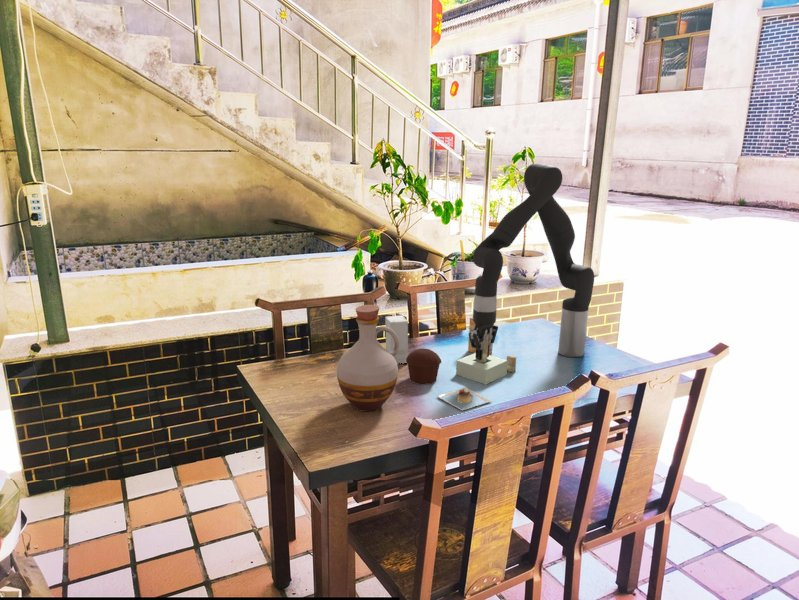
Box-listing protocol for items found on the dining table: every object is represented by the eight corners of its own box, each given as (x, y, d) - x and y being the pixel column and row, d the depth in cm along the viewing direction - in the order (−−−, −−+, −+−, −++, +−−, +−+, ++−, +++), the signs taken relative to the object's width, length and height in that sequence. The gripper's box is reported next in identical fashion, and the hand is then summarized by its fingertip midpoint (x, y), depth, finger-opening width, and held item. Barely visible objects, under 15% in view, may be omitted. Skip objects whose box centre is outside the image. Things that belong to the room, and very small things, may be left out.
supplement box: (467, 351, 224) (468, 317, 220) (476, 348, 227) (477, 315, 223) (483, 357, 217) (485, 322, 214) (492, 354, 221) (494, 320, 217)
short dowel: (509, 368, 207) (510, 354, 206) (517, 370, 205) (518, 357, 204) (504, 370, 205) (504, 356, 204) (512, 373, 203) (512, 359, 202)
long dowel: (480, 365, 203) (482, 331, 200) (488, 368, 201) (490, 333, 198) (475, 368, 201) (476, 333, 198) (482, 370, 199) (484, 336, 196)
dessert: (436, 399, 183) (436, 384, 182) (465, 390, 190) (466, 376, 188) (462, 413, 174) (462, 398, 172) (492, 404, 180) (493, 389, 179)
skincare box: (408, 364, 210) (409, 321, 206) (389, 365, 208) (390, 322, 204) (402, 355, 218) (403, 314, 214) (384, 357, 216) (384, 315, 212)
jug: (382, 387, 190) (383, 295, 182) (414, 408, 175) (416, 309, 167) (326, 401, 179) (324, 304, 172) (355, 424, 165) (354, 320, 157)
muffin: (398, 379, 196) (398, 350, 193) (418, 370, 205) (418, 342, 202) (428, 389, 189) (429, 359, 186) (447, 378, 198) (448, 349, 195)
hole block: (477, 365, 210) (478, 351, 208) (506, 374, 202) (507, 360, 200) (456, 374, 201) (456, 360, 200) (485, 384, 193) (486, 369, 192)
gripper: (488, 301, 203) (485, 350, 207) (462, 309, 193) (460, 360, 197) (506, 306, 198) (503, 355, 202) (481, 314, 188) (478, 366, 192)
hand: (482, 357), depth 200 cm, fingers closed on long dowel, 3 cm apart
